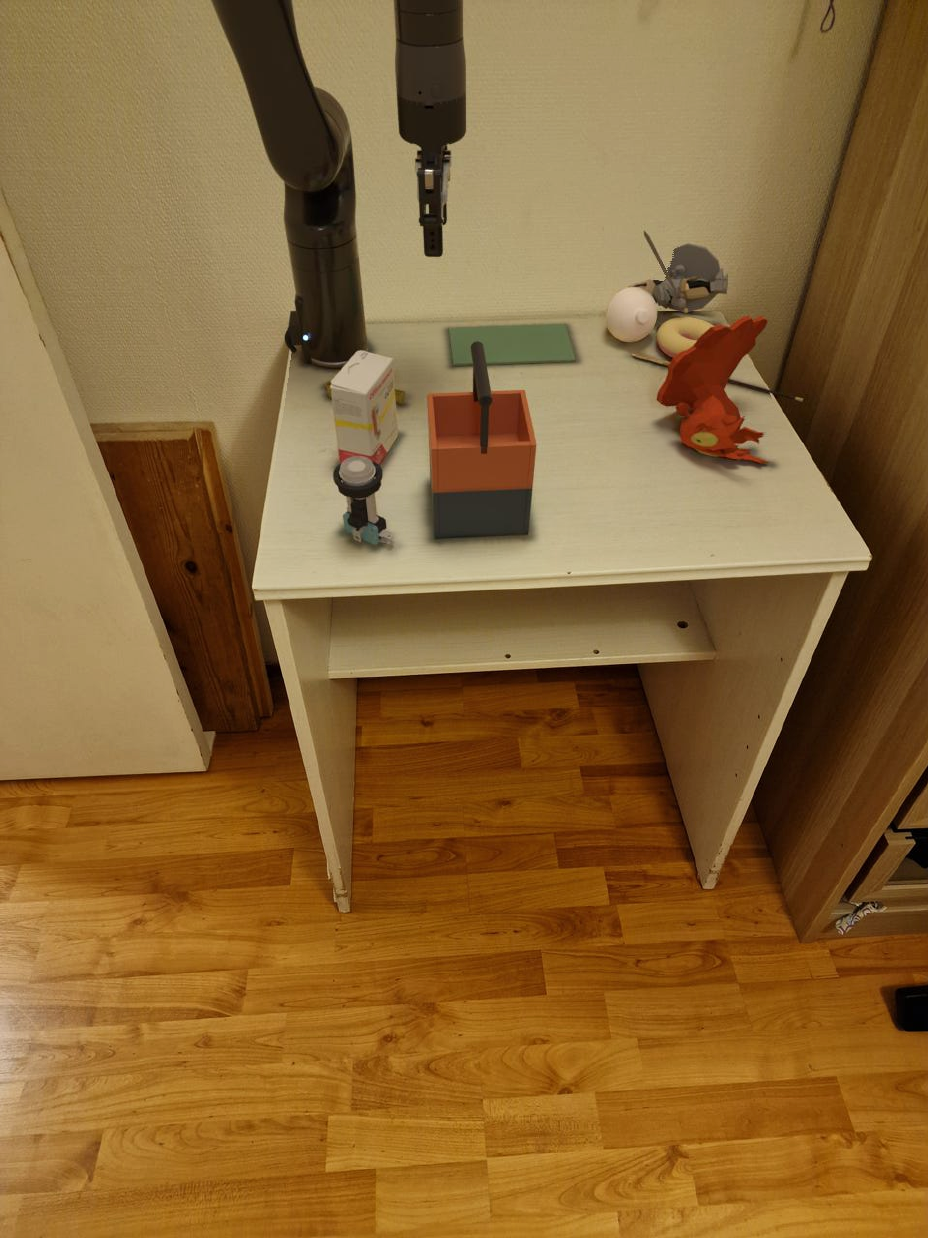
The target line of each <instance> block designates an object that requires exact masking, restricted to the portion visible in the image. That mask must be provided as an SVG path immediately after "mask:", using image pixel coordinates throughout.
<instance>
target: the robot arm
mask: <svg viewBox="0 0 928 1238" xmlns="http://www.w3.org/2000/svg"><path fill="white" fill-rule="evenodd" d="M210 2H211V4H212V7H213V10H214V12H215V14H216V17H217V19H218V21H219V24H220V26H221V29H222V31H223V33H224V35H225V37H226V40H227V42H228V44H229V47H230V49H231V51H232V53H233V56H234V59H235V61H236V63H237V65H238V68H239V72H240V73H241V76H242V79H243V83H244V85H245V88H246V92H247V95H248V98H249V102H250V104H251V108H252V111H253V114H254V118H255V121H256V125H257V128H258V132H259V134H260V138H261V141H262V144H263V147H264V151H265V154H266V156H267V159H268V162H269V163H270V165H271V168H273V170H274V172H275V174H276V175H278V177H279V178H280V179H281V180H282V181H283V185H284V207H283V224H284V225H283V226H284V229H285V230H284V231H285V237H286V242H287V243H286V244H287V248H288V255H289V262H290V268H291V273H292V279H293V285H294V291H295V293H294V294H295V295H294V308H295V310H290V311H289V320H288V327H287V329H286V331H285V333H284V342H285V345H286V347H287V348H288V350H289V351H290V352H291V354H295V353H297V351H298V349H297V347H296V346H301V350H302V357H303V363H304V364H313V365H315V366H317V367H320V368H326V369H339V368H340V369H342V368H343V367H344V365H345V364H346V363H347V362H348V361H349V360H350V358H351V357H352V356H353V355H354V354H355V353H356V352H357V351H360V350H361V351H366V352H369V341H368V336H367V335H368V334H367V328H366V316H365V306H364V305H365V304H364V298H363V296H364V295H363V287H362V275H361V265H360V255H359V244H358V243H359V242H358V234H357V233H358V232H357V223H356V220H357V219H356V215H357V214H356V213H357V212H356V211H357V192H356V189H357V188H356V176H355V163H354V152H353V151H354V150H353V141H352V132H351V126H350V122H349V119H348V116H347V114H346V111H345V110H344V108H343V106H342V105H341V103H340V102H339V101H338V99H336V97H334V96H333V95H332V94H331V93H330V92H328V91H327V90H325V89H323V88H320V87H318V86H315V85H314V83H313V80H312V78H311V75H310V71H309V70H308V67H307V64H306V61H305V58H304V55H303V51H302V48H301V44H300V41H299V40H300V39H299V36H298V30H297V25H296V17H295V11H294V5H293V0H210ZM393 12H394V13H393V14H394V15H393V16H394V17H393V18H394V31H395V53H394V73H395V89H396V104H397V105H396V106H397V123H398V134H399V137H400V138H401V139H402V140H403V141H404V142H406V143H408V144H410V145H416V146H418V147H419V148H420V149H416V158H414V171H415V172H414V173H415V175H416V199H417V202H418V209H419V212H418V213H419V217H418V223H419V226H420V227H422V232H423V233H422V236H423V254H424V256H425V257H427V258H441V257H442V256H443V253H444V239H443V236H444V235H443V234H444V233H443V232H444V231H443V226H445V225H446V224H447V222H448V208H447V207H448V193H449V182H450V181H451V167H452V150H451V149H449V148H448V145H453V144H456V143H458V142H460V141H461V140H462V139H463V138H464V137H465V135H466V134H467V60H466V50H465V40H464V0H393ZM427 206H428V213H427Z"/></svg>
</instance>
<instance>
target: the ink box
mask: <svg viewBox="0 0 928 1238" xmlns="http://www.w3.org/2000/svg"><path fill="white" fill-rule="evenodd" d="M330 381H331V385H330V389H331V396H332V398H331V403H332V412H333V419H334V420H333V421H334V427H335V428H334V429H335V434H336V444H337V451H338V452H337V453H338V458H339V464H341V463H342V462H343V461H344V460H346V459H347V458H350V457H353V456H363V457H367V458H368V459H370V460H372V461H374V462H376V463H377V464H379V465H380V466H381V463H382V461H383V460H384V459H385V457H386V456H387V454H388V452H389V451H390V450H391V448H392V446H393V445H394V443H395V441H396V440H397V439H398V437H399V432H398V430H399V429H398V416H397V414H398V413H397V403H396V398H395V389H396V384H395V365H394V357H392V356H391V357H390V356H386V355H383V354H378V353H374V352H369V351H368V352H366V351H361V350H360V351H357V352H356V353H355V354H354V355H353V356H352V357H351V358H350V360H349V361H348V362H347V363H346V364H345V365H344V367H341V368H340V370H339V371H338V372H337V373H336V374H335V376H334V377H333V378H332V379H331V380H330Z"/></svg>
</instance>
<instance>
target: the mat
mask: <svg viewBox="0 0 928 1238" xmlns="http://www.w3.org/2000/svg"><path fill="white" fill-rule="evenodd" d="M448 333H449V342H450V351H451V358H452V367H467V366H468V367H469V366H471V367H473V361H472V354H471V345H472V343H473V342H476V341H479V342H481V343H482V344H483V346H484V352H485V358H486V364H487V366H497V365H522V364H523V365H524V364H547V363H549V364H550V363H551V364H552V363H576V360H577V359H576V356H575V352H574V349H573V346H572V342H571V339H570V335H569V332H568V329H567V325H566V324H565V323H555V324H554V323H553V324H526V325H524V324H523V325H499V326H497V325H495V326H468V327H467V326H465V327H449V328H448Z"/></svg>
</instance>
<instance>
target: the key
mask: <svg viewBox="0 0 928 1238" xmlns="http://www.w3.org/2000/svg"><path fill="white" fill-rule="evenodd" d="M331 381H332V380H328V381H326V382H325V383H324V387H325V389H326V394H327V397H328V398H330V399H332V396H331V389H330V385H331ZM405 395H406V391H405V390H401V389H397V388H395V398H396V404H398V405H401V406H402V405H403V403H404V401H405V399H404V396H405Z"/></svg>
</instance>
